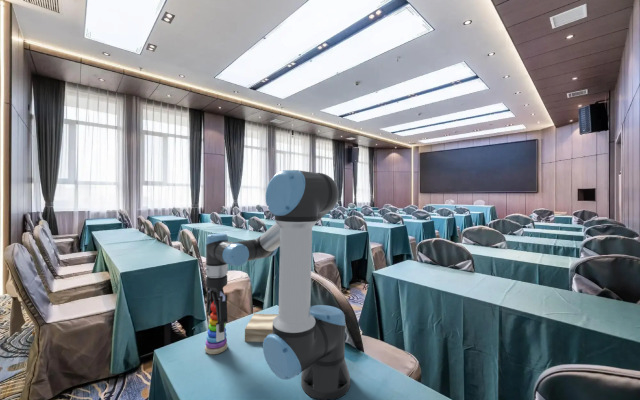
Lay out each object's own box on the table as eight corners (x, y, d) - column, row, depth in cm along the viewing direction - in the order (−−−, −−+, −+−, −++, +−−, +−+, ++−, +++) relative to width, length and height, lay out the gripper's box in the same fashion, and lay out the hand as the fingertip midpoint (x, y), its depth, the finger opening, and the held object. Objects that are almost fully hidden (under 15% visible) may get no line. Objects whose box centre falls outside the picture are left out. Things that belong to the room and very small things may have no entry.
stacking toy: (212, 358, 98) (212, 305, 97) (200, 350, 103) (200, 300, 102) (231, 348, 104) (232, 299, 104) (219, 341, 109) (219, 294, 109)
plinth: (279, 342, 109) (280, 329, 109) (244, 341, 109) (244, 328, 109) (285, 325, 123) (285, 314, 123) (253, 324, 123) (254, 313, 123)
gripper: (197, 271, 108) (197, 329, 108) (217, 283, 93) (216, 351, 93) (216, 268, 113) (216, 323, 113) (238, 279, 98) (237, 343, 98)
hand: (216, 336), depth 103 cm, fingers closed on stacking toy, 7 cm apart
